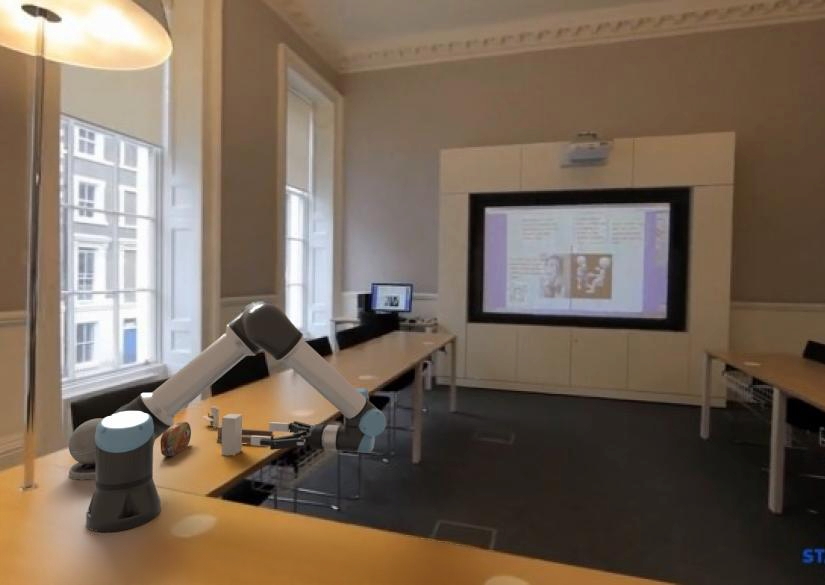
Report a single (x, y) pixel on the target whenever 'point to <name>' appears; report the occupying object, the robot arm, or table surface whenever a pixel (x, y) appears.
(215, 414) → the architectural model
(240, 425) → the clay bar
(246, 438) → the rack
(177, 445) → the tin
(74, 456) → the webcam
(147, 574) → the table surface
